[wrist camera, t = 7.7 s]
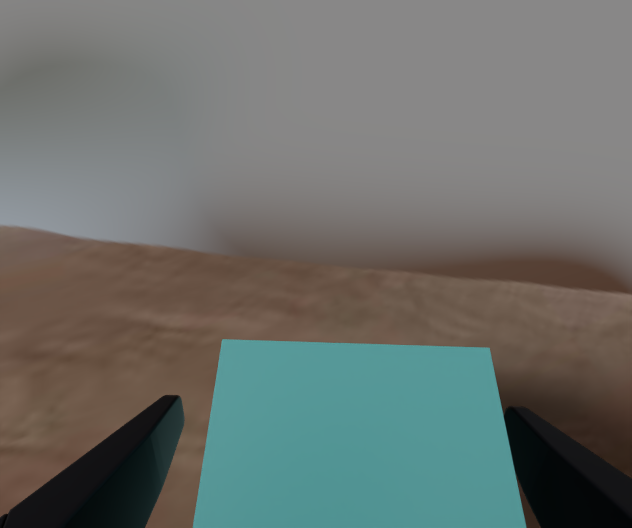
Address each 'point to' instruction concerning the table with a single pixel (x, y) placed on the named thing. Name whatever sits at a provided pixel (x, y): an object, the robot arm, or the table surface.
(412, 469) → the tall brick
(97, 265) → the table surface
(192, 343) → the table surface
